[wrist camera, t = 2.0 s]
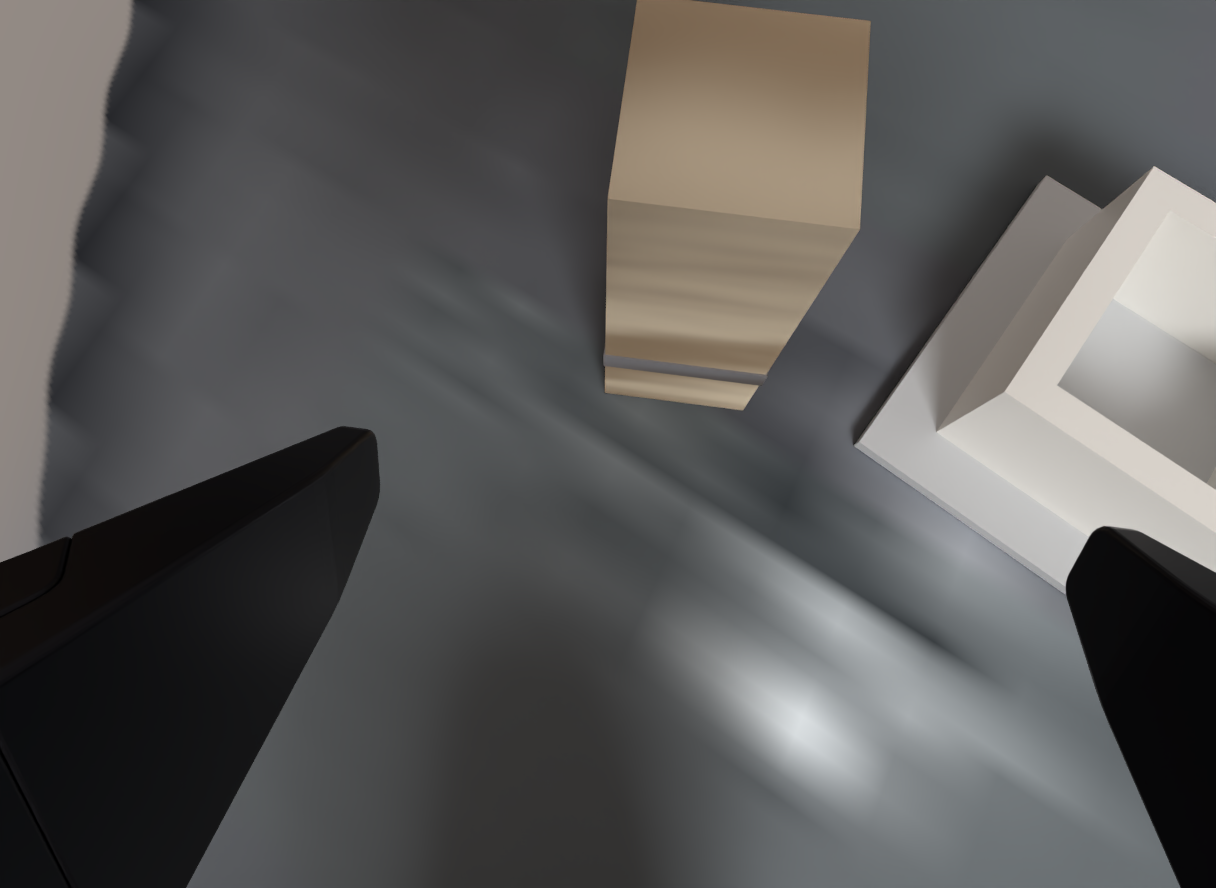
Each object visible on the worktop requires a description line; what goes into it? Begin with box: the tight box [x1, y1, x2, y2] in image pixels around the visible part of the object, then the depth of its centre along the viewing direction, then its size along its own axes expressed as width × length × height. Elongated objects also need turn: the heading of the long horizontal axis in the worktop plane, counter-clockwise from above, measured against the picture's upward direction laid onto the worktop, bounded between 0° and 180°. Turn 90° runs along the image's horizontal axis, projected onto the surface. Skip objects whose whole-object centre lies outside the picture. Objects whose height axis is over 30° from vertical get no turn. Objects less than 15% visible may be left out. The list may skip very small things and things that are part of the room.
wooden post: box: [603, 0, 871, 410], centre depth 19 cm, size 5×5×11 cm
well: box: [854, 166, 1216, 595], centre depth 21 cm, size 12×12×4 cm
